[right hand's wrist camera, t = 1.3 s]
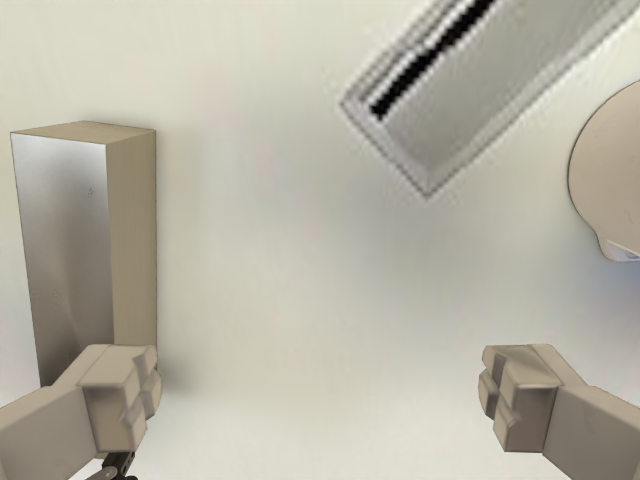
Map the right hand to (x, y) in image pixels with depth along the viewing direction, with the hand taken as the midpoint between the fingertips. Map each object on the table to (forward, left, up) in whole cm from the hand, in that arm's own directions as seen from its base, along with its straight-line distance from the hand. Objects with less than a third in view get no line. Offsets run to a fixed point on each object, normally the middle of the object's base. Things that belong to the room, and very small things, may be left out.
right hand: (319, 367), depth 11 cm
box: (+18, +13, -29) cm, 36 cm away
